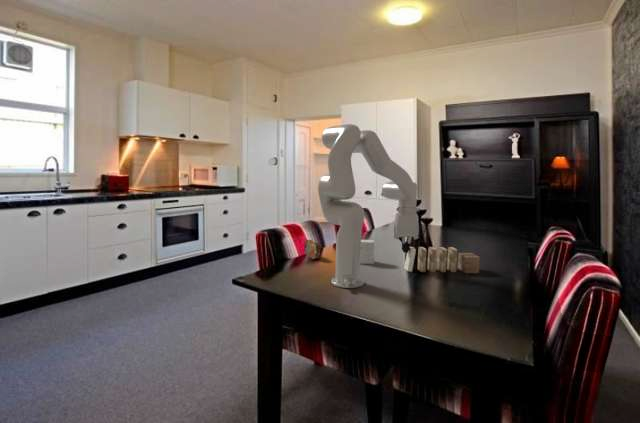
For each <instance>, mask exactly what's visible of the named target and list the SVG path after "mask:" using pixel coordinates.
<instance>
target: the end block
mask: <svg viewBox="0 0 640 423" xmlns="http://www.w3.org/2000/svg"><path fill="white" fill-rule="evenodd" d="M480 260H481V258H480V256H478V255H476V254H475V253H472V252H458V253H457V269H458V268H459V270H460V271H462V272H463V273H465V274H479V273H480Z"/></svg>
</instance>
